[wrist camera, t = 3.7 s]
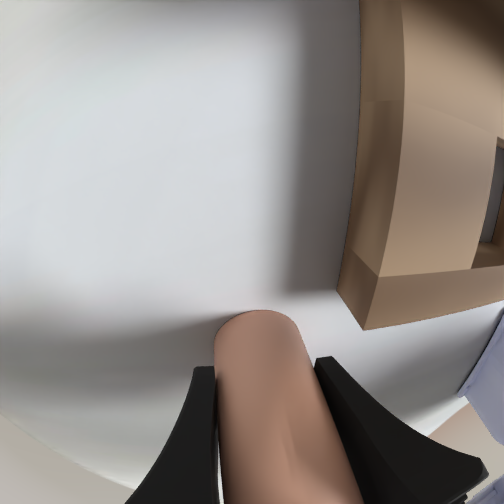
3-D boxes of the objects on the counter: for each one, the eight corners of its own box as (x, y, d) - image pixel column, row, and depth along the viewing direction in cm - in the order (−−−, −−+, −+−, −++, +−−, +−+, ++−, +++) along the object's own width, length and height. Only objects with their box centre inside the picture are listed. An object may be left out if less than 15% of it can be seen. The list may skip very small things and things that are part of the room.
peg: (294, 369, 12) (344, 527, 5) (215, 374, 12) (230, 547, 5) (305, 307, 11) (390, 501, 4) (211, 311, 11) (225, 537, 3)
